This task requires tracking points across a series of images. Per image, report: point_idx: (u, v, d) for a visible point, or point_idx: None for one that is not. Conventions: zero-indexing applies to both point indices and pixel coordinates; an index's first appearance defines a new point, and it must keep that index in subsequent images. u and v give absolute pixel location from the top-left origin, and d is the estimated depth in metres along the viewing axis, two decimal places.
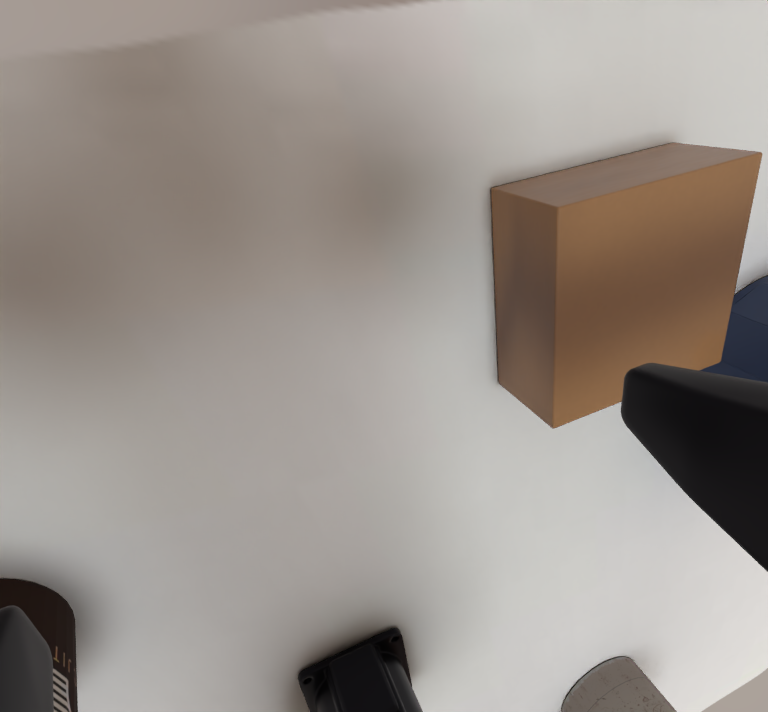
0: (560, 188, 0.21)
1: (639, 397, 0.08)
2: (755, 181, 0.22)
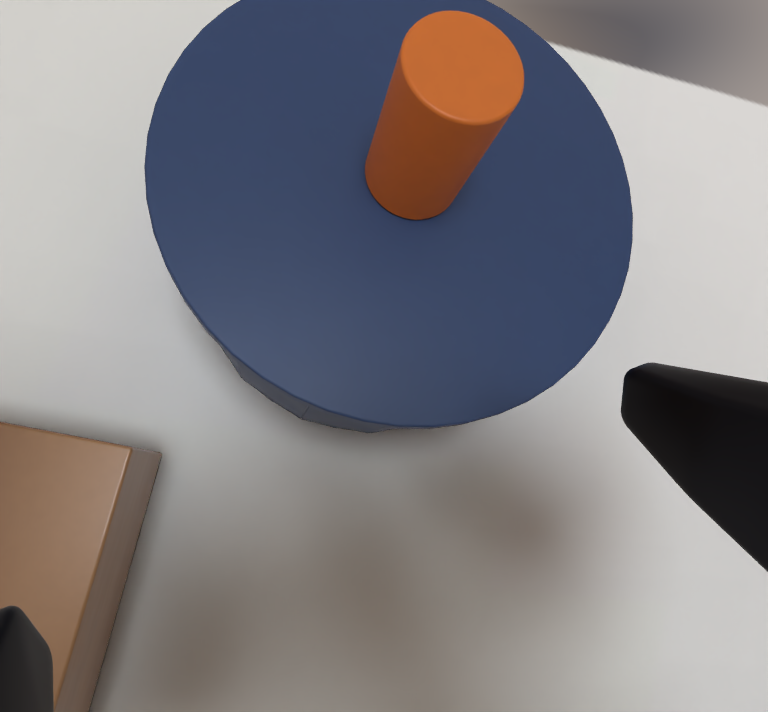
0: None
1: (639, 397, 0.08)
2: None
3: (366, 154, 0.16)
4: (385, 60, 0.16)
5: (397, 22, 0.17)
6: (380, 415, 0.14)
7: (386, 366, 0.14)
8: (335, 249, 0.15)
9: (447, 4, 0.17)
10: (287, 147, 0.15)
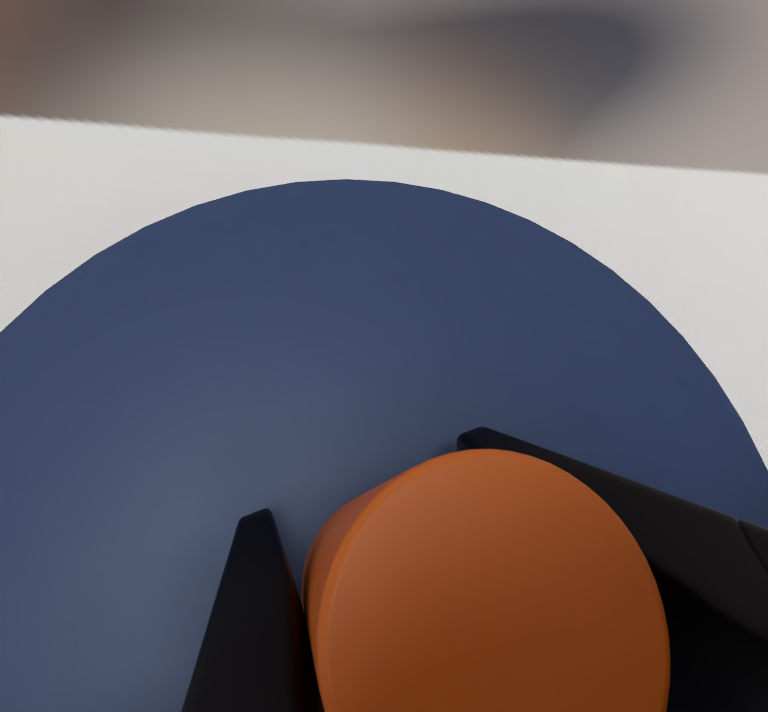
0: None
1: None
2: None
3: (301, 562, 0.08)
4: (309, 353, 0.09)
5: (319, 274, 0.10)
6: None
7: None
8: None
9: (398, 219, 0.10)
10: (142, 600, 0.08)
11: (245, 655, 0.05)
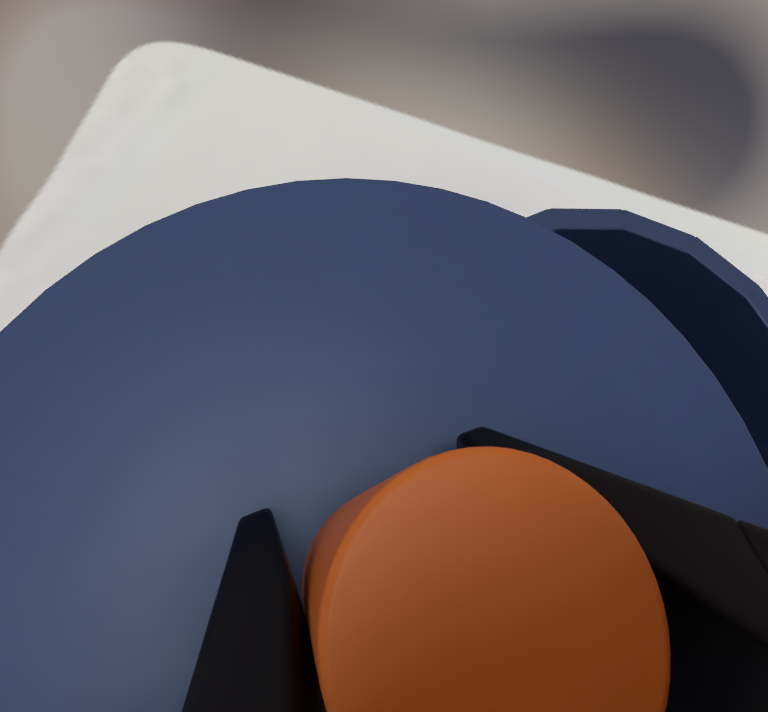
0: None
1: None
2: None
3: (302, 560, 0.08)
4: (309, 352, 0.09)
5: (320, 273, 0.10)
6: None
7: None
8: None
9: (399, 218, 0.10)
10: (143, 598, 0.08)
11: (245, 655, 0.05)
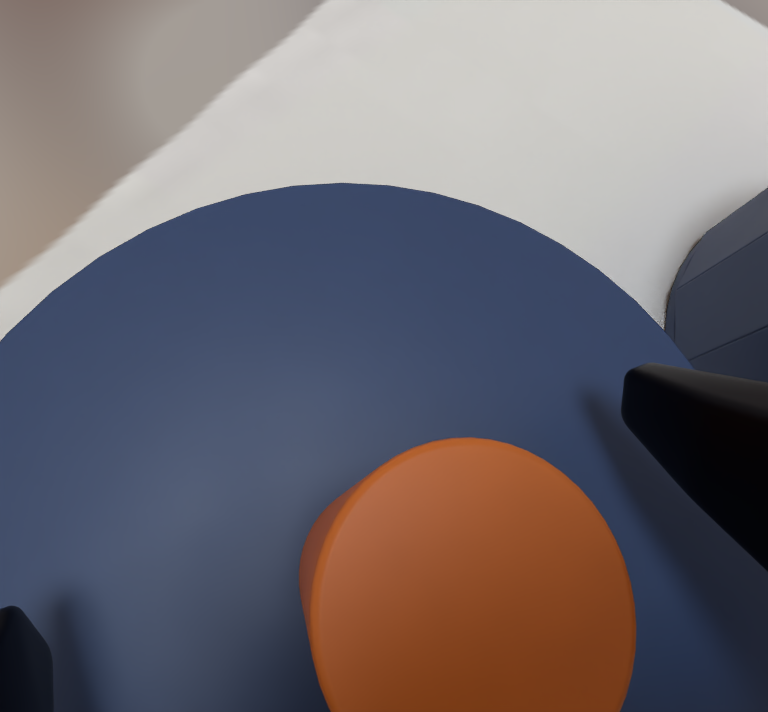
0: None
1: (639, 397, 0.08)
2: None
3: (298, 550, 0.08)
4: (306, 351, 0.10)
5: (316, 275, 0.10)
6: None
7: None
8: None
9: (392, 221, 0.11)
10: (146, 586, 0.08)
11: None
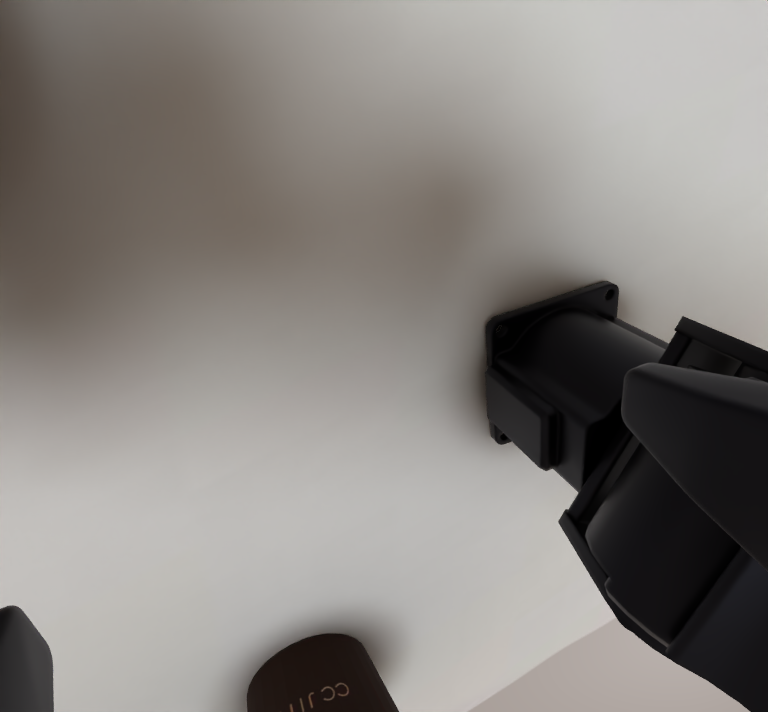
0: None
1: (639, 397, 0.08)
2: None
3: None
4: None
5: None
6: None
7: None
8: None
9: None
10: None
11: None
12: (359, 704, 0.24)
